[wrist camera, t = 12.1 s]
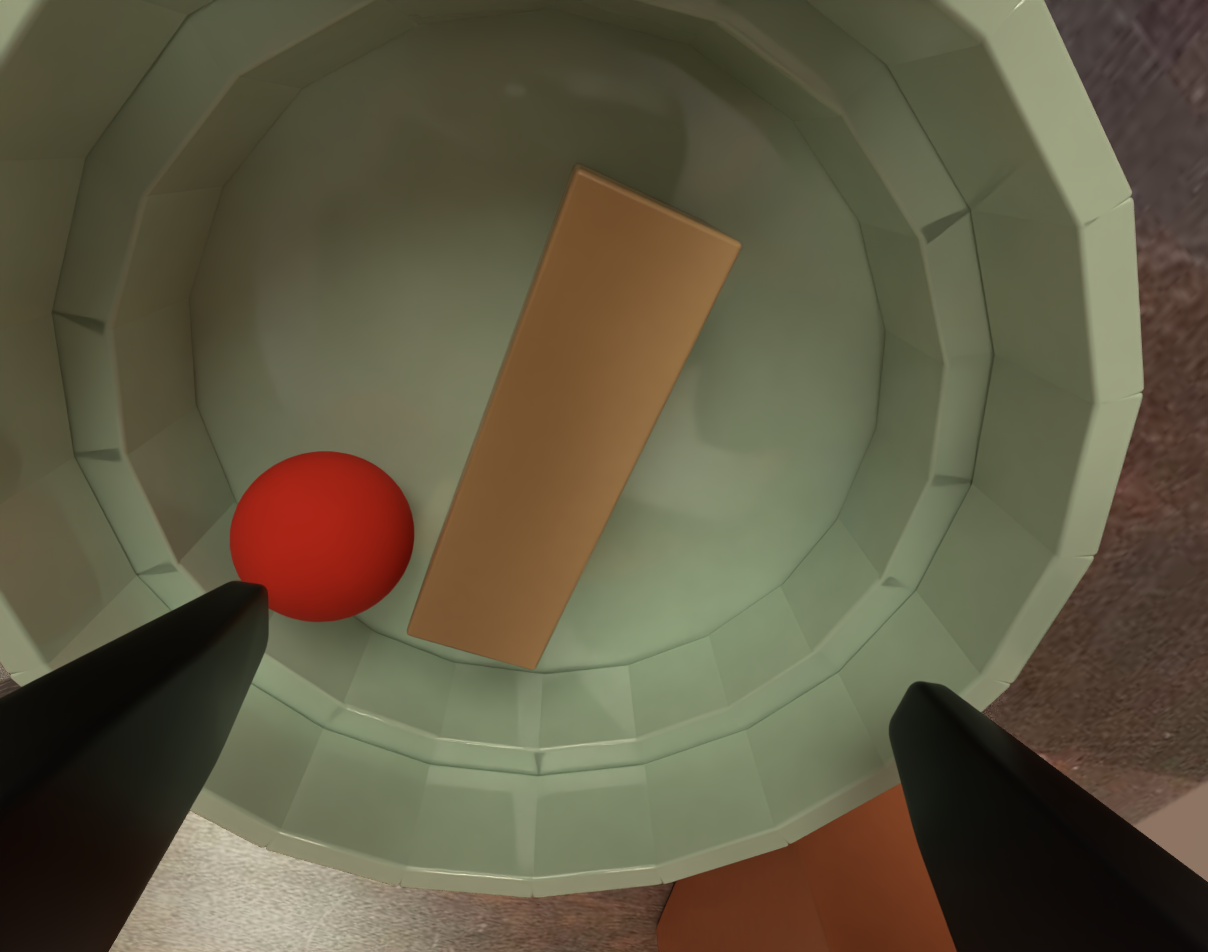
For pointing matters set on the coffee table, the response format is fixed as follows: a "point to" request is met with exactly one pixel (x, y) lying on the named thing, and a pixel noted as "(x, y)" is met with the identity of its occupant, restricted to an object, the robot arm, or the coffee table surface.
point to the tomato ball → (322, 535)
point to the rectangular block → (817, 893)
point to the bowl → (473, 358)
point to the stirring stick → (569, 414)
